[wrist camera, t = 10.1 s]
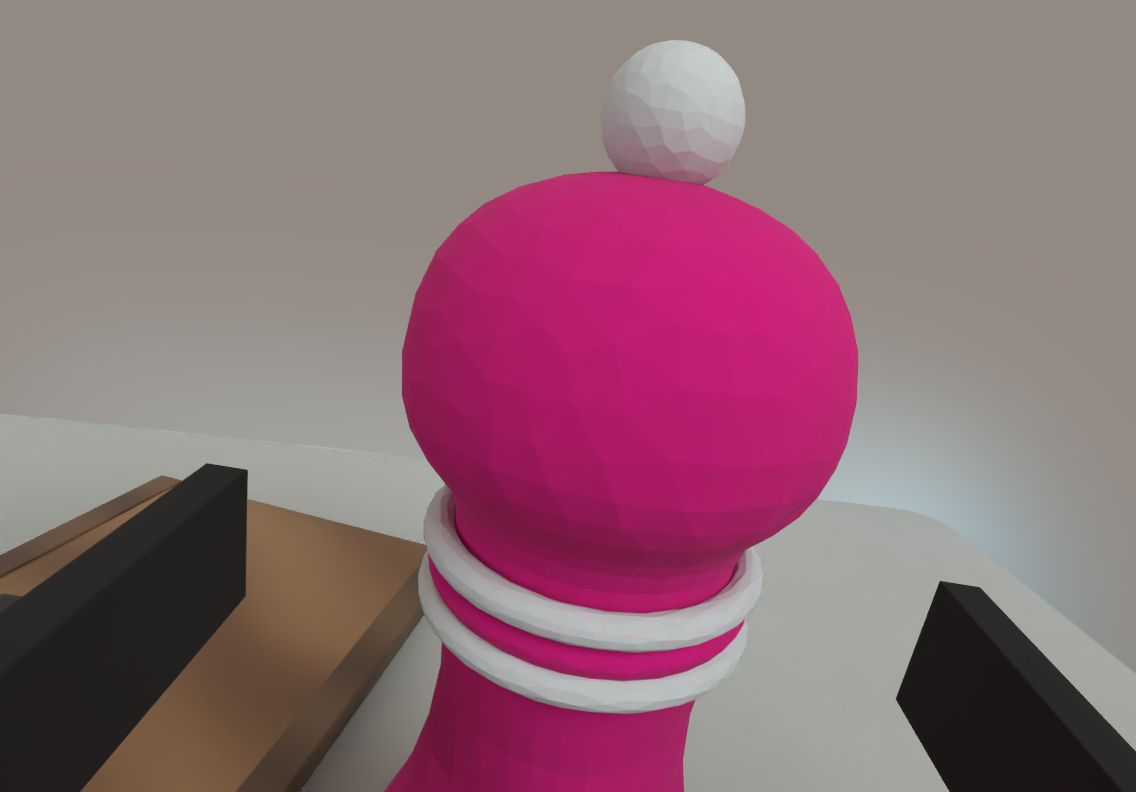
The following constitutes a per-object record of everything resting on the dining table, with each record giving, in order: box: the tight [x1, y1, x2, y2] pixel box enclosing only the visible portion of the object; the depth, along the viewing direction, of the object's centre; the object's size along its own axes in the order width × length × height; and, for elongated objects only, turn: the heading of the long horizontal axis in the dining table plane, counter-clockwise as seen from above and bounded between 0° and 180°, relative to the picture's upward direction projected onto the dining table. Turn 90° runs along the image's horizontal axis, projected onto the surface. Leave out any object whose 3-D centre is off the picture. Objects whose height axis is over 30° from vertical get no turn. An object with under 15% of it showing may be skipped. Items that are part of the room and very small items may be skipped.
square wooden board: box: [0, 476, 428, 792], centre depth 25 cm, size 18×16×1 cm
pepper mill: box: [384, 40, 858, 792], centre depth 11 cm, size 7×7×20 cm
